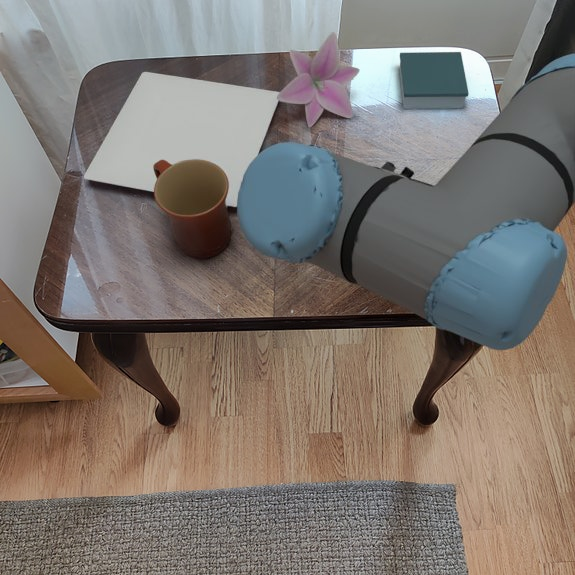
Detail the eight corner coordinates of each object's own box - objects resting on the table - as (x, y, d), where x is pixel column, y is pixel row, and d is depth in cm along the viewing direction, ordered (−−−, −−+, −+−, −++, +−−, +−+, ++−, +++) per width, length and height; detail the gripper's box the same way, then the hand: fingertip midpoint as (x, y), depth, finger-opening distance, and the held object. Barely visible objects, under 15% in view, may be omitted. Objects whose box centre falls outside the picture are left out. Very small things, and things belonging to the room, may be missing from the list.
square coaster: (464, 109, 88) (468, 93, 86) (401, 110, 89) (404, 94, 86) (456, 68, 93) (460, 51, 90) (397, 68, 93) (400, 52, 91)
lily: (265, 126, 89) (280, 101, 80) (276, 53, 91) (292, 20, 81) (340, 143, 92) (363, 121, 83) (350, 72, 93) (373, 42, 84)
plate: (145, 80, 94) (142, 70, 92) (282, 101, 90) (281, 91, 89) (86, 187, 83) (81, 177, 81) (239, 215, 79) (237, 206, 78)
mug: (251, 239, 77) (244, 187, 69) (199, 278, 75) (183, 229, 66) (195, 188, 82) (181, 133, 73) (144, 223, 79) (123, 171, 71)
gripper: (273, 166, 56) (379, 193, 73) (464, 361, 45) (535, 339, 62) (319, 97, 53) (418, 142, 70) (535, 289, 42) (590, 287, 59)
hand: (473, 235), depth 66 cm, fingers open, 13 cm apart
